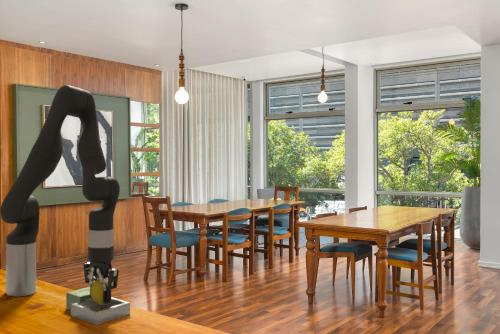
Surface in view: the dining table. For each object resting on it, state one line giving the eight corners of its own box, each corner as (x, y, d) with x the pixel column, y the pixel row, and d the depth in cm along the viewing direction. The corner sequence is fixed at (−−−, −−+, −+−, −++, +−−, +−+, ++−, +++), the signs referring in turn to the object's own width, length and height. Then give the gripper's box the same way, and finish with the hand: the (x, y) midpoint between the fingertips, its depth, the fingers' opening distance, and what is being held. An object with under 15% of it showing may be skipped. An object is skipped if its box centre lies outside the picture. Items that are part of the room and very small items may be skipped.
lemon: (104, 308, 149) (104, 281, 149) (87, 306, 150) (87, 279, 150) (113, 302, 154) (113, 276, 154) (96, 301, 155) (96, 275, 155)
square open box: (57, 311, 155) (57, 294, 155) (91, 301, 165) (91, 286, 165) (96, 324, 144) (96, 307, 144) (129, 314, 153) (130, 297, 153)
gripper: (75, 242, 153) (75, 298, 153) (105, 249, 144) (105, 308, 145) (96, 239, 159) (96, 293, 159) (126, 245, 150) (126, 302, 151)
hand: (100, 300), depth 152 cm, fingers closed on lemon, 5 cm apart
